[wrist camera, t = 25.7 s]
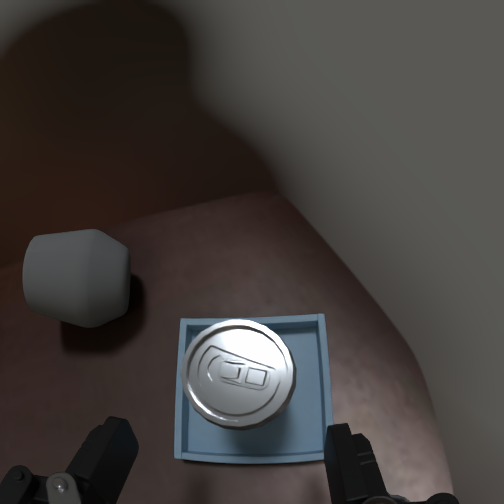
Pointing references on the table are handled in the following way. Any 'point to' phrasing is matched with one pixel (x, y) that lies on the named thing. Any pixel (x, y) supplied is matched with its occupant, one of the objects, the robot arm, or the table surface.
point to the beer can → (238, 375)
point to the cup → (77, 277)
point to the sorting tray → (279, 429)
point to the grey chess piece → (399, 498)
